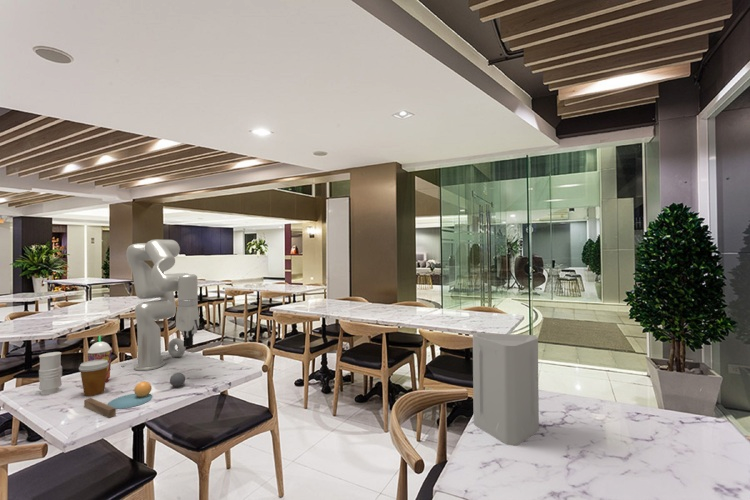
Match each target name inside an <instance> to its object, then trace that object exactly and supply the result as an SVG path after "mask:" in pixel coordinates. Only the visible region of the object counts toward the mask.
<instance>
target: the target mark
mask: <svg viewBox="0 0 750 500" xmlns="http://www.w3.org/2000/svg"><path fill="white" fill-rule="evenodd" d="M152 399H153V394H151V393H149V394H148V395H147V396H145V397H138V396H137V395H136V394H135V393H130V394H125V395H121V396H119V397H117V398H114V399H112V400H110V401H109V402H108V403H107V405H109V406H111V407H114V408H116V410H121V409H122V410H123V409H128V408H133V407H138V406H141V405H143V404H146V403H147V402H149V401H151V400H152Z"/></svg>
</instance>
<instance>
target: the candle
mask: <svg viewBox="0 0 750 500" xmlns="http://www.w3.org/2000/svg"><path fill="white" fill-rule="evenodd" d="M61 355H62V352H60V351H53V352H46V353H42V354H39V355H38V358H39V369H38V381H39V388H38V389H39V390H40V391H41V392H40V395H42V396H43V395H44V396H48V395H53V394H56V393H58V392H60V391H61V389H60V387H61V386H62V385H63V384H62V377H63V366H62V365H61V363H62V361H61Z"/></svg>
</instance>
